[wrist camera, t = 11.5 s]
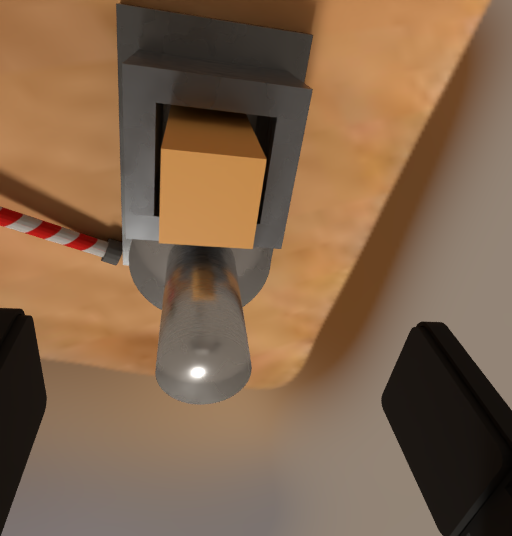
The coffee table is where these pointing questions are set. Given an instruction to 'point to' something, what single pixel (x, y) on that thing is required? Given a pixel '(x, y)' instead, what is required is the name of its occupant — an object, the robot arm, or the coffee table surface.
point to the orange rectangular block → (209, 179)
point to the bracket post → (148, 181)
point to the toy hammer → (62, 235)
